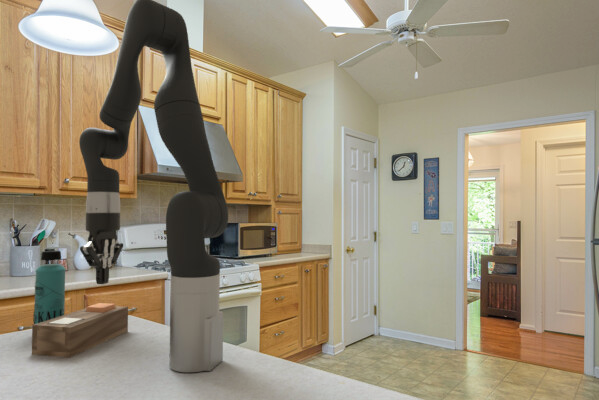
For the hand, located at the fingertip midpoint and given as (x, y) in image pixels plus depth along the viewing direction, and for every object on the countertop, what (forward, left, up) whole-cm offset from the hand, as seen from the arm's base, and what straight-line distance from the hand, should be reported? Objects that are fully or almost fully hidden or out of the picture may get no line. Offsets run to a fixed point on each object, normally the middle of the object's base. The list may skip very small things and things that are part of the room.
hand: (102, 283), depth 98 cm
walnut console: (0, +6, -12) cm, 13 cm away
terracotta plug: (0, 0, -10) cm, 10 cm away
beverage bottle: (+13, +2, -12) cm, 18 cm away
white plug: (0, +11, -11) cm, 16 cm away
